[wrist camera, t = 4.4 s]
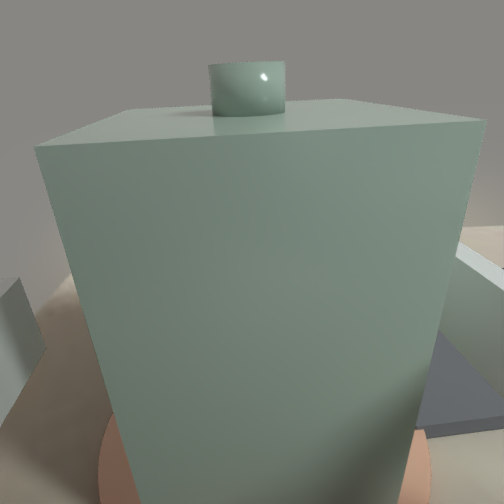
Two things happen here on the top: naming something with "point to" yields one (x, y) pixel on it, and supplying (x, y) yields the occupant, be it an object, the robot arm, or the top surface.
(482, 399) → the mat
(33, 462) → the top surface
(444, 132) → the cover
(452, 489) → the top surface
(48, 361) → the top surface
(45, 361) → the top surface
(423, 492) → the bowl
